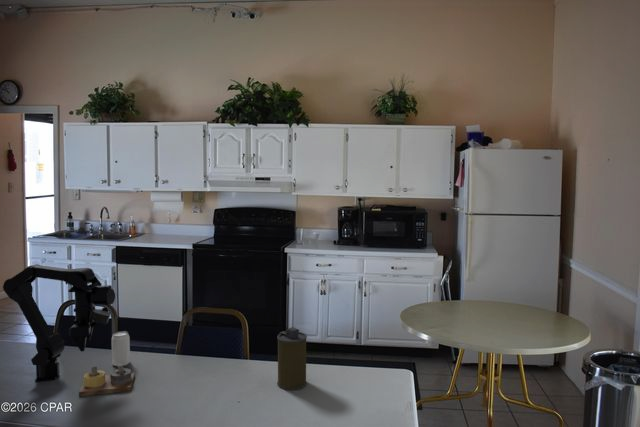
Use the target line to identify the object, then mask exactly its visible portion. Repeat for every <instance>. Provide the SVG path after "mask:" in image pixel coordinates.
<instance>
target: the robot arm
mask: <svg viewBox="0 0 640 427" xmlns="http://www.w3.org/2000/svg"><path fill="white" fill-rule="evenodd" d="M37 278H38V279H39V278H40V279H47V280H53V281H54V280H55V281H62V282H65V283H66V284H68V285H69V286H71V288H69V289H68V293H74V308H73V312H74V313H75V319H73V325H72V326H71V327H70V328H69V329H68V335H69V336H70V338H72V340H73V341H74V343H75V344H76V345H77V347H78V349H79V351H80V352H85V350H86V343H90V342H91V337H92V334H93V329H94V326H96V324H98V323H100V324H103V325H107V324H108V322H109V320H110V317H111V315H112V314H111V311H109V310H110V309H109V307H108V306H111V305H113V304H114V302H115V300H116V292H115V291H114V289H113V287H112V285H108V284H107V285H103V284H102V282H101V281H100V280H99V279H98V277H97V276H96V275H95V272H94V271H93V269H92V268H89V267H80V268H78V267H77V268H65V267H64V268H63V267H55V266H50V265H48V266H47V265H42V264H37V263H36V264H32V265H28V266H27V267H25V268H24V269H22V270H21V271H20V272H18V273H17V274H15V275H14V276H12V277H10V278H7V279H6V280H5V281H4V283H3V285H2V290H3V291H4V293H5V294H6V296H7V297H8V298H9V299H11V301H14V302H16V303H17V305H18V306H19V309H20V310H21V312H22V314H23V317H25V320H26V321H27V323H28V325H29V327H30V329H31V331H32V333H33V334H34V336H35V338H36V342H35V350H36V352H37V353H36V354H35V355H34V356H33V357H32V358H31V361H30V362H31V363H32V365H33V366H35V373H36V378H35V379H34V382H42V381H43V382H45V381H46V382H47V381H54V380H56V378H57V377H58V376H59V375H60V373H61V371H60V362H59V361H58V358H59V357H61V355H62V353H63V352H64V349H65V346H66V345H65V342H66V341H65V340H64V339H63V338H62V335H61V333H60V332H56V333H54V332H53V331H52V330H51V329H50V327H49V325H48V323H47V321H46V320H45V318H44V315H43V313H42V312H41V310H40V309H39V306H38V304H37V302H36V300H35V299H34V297H33V291H34V290H33V289H34V288H33V285H32V283H34V282H35V280H36V279H37ZM98 305H99V306H100V305H101V306H103V307H102V308H99V309H98V308H96V306H98Z"/></svg>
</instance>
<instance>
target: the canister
mask: <svg viewBox="0 0 640 427" xmlns="http://www.w3.org/2000/svg"><path fill="white" fill-rule="evenodd" d="M307 338H308V336H307V334H306V333H304V332H302V331H300V329H298V328H296V327H295V326H291V327H289V328H286V330H283V331H280V332H279V333H278V335H277V337H276V339H277V383H276V384H277V387H279V389H282V390H286V391H298V390H301V389H303V388H305V387H306V386H307V385H308V384H307V383H308V382H307Z"/></svg>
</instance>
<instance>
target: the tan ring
mask: <svg viewBox="0 0 640 427" xmlns="http://www.w3.org/2000/svg"><path fill="white" fill-rule="evenodd" d="M105 375H106V371H103V370H98V369H97V376H92V371H89V372H85V374H84V376H83V383H84V386H87V387H96V386H99V385H101V384H104V382H105Z"/></svg>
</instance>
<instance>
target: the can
mask: <svg viewBox="0 0 640 427" xmlns="http://www.w3.org/2000/svg"><path fill="white" fill-rule="evenodd" d="M130 340H131V338H130V335H129V332H128V331H126V330H123V331H116V332H114V333H113V334H112V337H111V363H112V366H114V367H118V365H120V364H123V366H127V365H129V364H130V362H131V345H130Z"/></svg>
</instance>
